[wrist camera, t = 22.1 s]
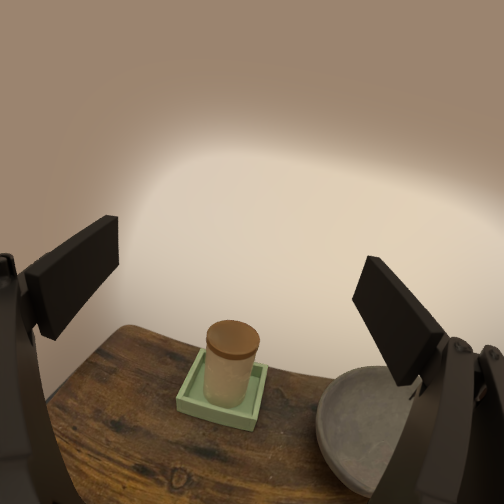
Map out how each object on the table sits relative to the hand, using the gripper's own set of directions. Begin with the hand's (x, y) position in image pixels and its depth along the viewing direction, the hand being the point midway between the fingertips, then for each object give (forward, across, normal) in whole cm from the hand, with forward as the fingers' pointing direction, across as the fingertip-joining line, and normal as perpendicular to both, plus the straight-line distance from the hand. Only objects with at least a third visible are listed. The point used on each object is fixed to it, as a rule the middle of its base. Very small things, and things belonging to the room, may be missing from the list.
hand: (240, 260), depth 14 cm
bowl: (+2, +22, -27) cm, 35 cm away
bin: (+12, +1, -27) cm, 30 cm away
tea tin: (+12, +1, -26) cm, 29 cm away
